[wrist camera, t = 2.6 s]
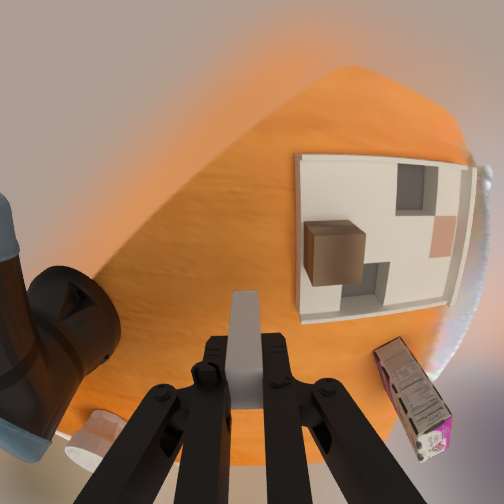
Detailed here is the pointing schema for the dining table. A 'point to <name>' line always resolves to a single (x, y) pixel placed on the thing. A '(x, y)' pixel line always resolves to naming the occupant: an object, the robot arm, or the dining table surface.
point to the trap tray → (386, 231)
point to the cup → (94, 439)
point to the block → (333, 252)
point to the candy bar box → (414, 399)
